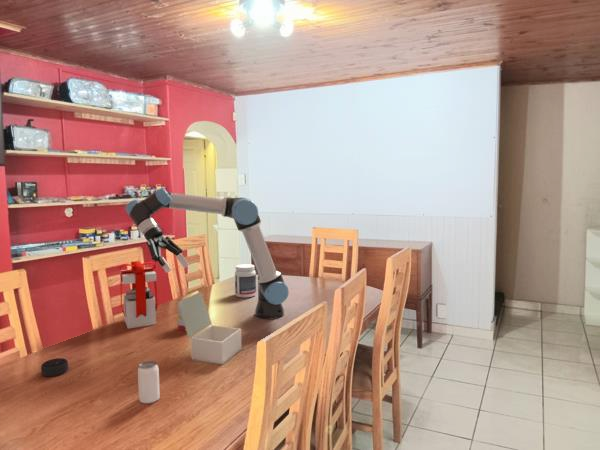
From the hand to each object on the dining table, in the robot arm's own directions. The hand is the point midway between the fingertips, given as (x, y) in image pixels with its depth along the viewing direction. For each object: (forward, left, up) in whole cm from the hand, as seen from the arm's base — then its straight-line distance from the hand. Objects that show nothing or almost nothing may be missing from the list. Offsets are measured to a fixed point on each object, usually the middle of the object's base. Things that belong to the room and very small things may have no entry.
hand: (178, 268), depth 196 cm
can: (+6, +52, -33) cm, 62 cm away
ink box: (-3, -16, -33) cm, 37 cm away
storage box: (-16, +19, -33) cm, 41 cm away
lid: (-8, +14, -16) cm, 23 cm away
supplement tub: (-33, -69, -33) cm, 83 cm away
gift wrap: (+22, -29, -33) cm, 49 cm away
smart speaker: (+44, +24, -33) cm, 60 cm away
